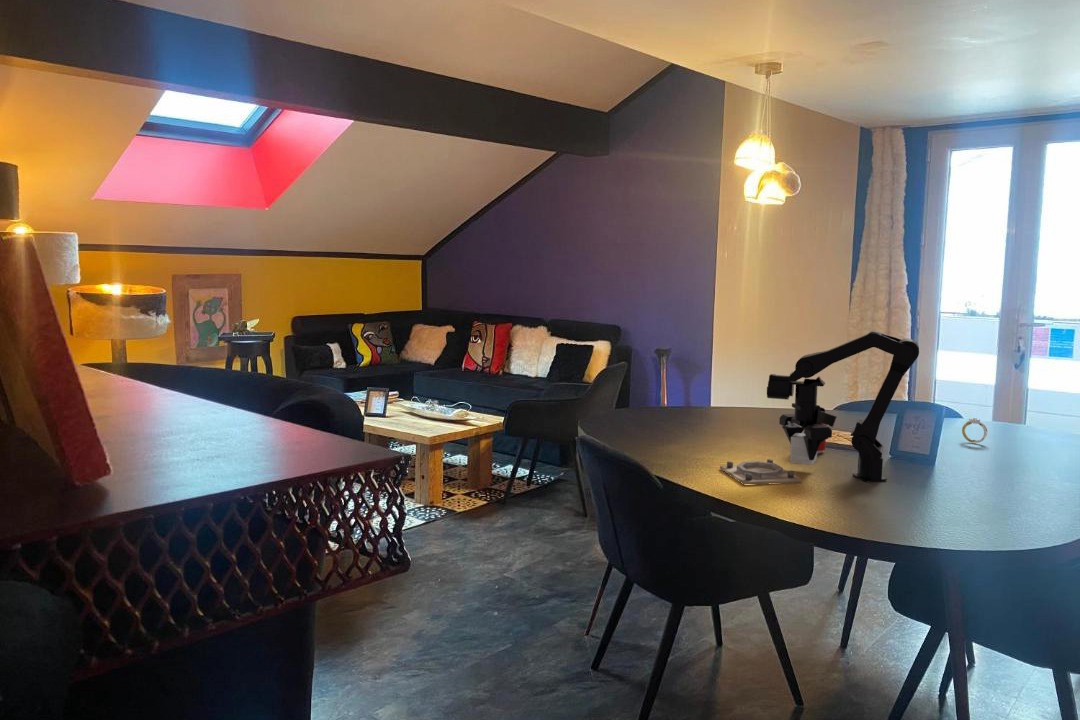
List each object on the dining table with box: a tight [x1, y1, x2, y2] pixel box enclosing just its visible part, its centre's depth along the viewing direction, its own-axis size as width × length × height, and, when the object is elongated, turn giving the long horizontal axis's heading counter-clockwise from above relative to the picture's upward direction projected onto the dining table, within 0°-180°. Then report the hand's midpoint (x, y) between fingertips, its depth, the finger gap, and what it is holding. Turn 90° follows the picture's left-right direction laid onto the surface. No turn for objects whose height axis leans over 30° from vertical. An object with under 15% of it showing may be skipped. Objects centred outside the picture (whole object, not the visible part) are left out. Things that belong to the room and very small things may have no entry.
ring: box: [961, 418, 988, 444], centre depth 254 cm, size 7×3×8 cm, turn 41°
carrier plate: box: [719, 458, 802, 485], centre depth 219 cm, size 16×16×2 cm
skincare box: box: [790, 432, 818, 465], centre depth 223 cm, size 6×6×7 cm
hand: (803, 456), depth 223 cm, fingers closed on skincare box, 8 cm apart
